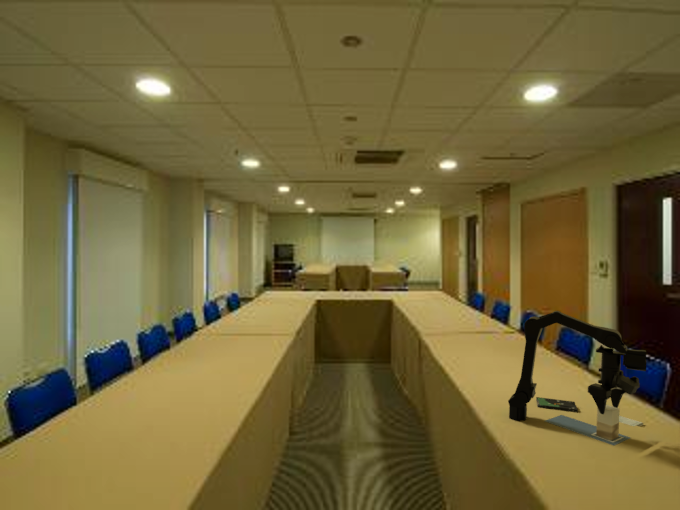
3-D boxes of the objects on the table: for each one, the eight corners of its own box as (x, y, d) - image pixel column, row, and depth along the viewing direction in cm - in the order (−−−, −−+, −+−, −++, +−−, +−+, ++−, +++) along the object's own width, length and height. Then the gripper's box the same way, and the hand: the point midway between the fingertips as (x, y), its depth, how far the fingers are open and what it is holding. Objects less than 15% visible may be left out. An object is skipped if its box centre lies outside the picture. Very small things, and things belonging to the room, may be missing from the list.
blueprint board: (613, 448, 157) (614, 445, 157) (543, 423, 178) (543, 420, 178) (630, 440, 164) (630, 437, 164) (561, 417, 185) (561, 414, 185)
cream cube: (611, 425, 161) (612, 411, 161) (596, 421, 165) (597, 406, 165) (618, 422, 164) (619, 408, 164) (604, 418, 168) (604, 404, 168)
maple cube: (611, 440, 162) (611, 425, 161) (596, 435, 166) (596, 421, 165) (618, 437, 164) (619, 422, 164) (603, 432, 168) (604, 418, 168)
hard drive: (598, 415, 185) (633, 426, 174) (609, 412, 189) (643, 422, 179) (598, 420, 185) (633, 430, 174) (608, 416, 189) (643, 426, 179)
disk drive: (574, 408, 198) (535, 402, 202) (574, 401, 198) (535, 396, 202) (578, 416, 188) (537, 410, 193) (578, 409, 188) (537, 404, 193)
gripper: (622, 376, 152) (620, 424, 153) (648, 368, 163) (646, 413, 163) (587, 368, 161) (585, 413, 162) (614, 361, 172) (612, 404, 173)
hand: (608, 411), depth 165 cm, fingers open, 9 cm apart
